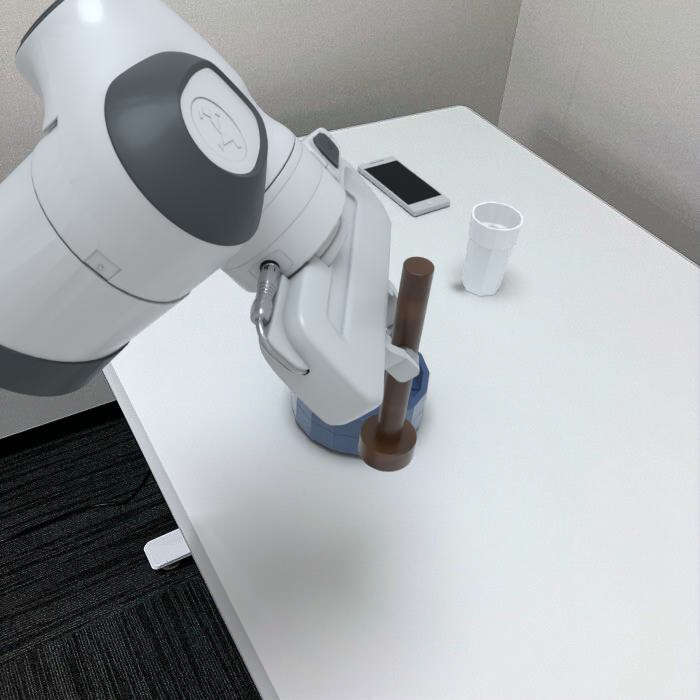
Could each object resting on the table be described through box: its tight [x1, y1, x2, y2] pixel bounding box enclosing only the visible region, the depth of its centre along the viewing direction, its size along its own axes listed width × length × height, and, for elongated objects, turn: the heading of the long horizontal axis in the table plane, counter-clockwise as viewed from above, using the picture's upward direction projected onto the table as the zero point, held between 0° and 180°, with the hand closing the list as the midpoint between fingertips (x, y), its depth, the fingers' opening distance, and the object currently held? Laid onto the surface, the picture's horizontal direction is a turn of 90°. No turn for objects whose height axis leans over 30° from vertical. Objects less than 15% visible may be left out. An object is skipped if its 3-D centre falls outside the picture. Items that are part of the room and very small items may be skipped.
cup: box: [461, 201, 525, 297], centre depth 102 cm, size 7×7×11 cm
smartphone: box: [357, 155, 451, 217], centre depth 122 cm, size 7×16×1 cm, turn 34°
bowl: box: [291, 330, 431, 456], centre depth 85 cm, size 14×14×6 cm
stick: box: [358, 256, 436, 473], centre depth 55 cm, size 4×4×18 cm
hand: (411, 354), depth 54 cm, fingers closed on stick, 2 cm apart
